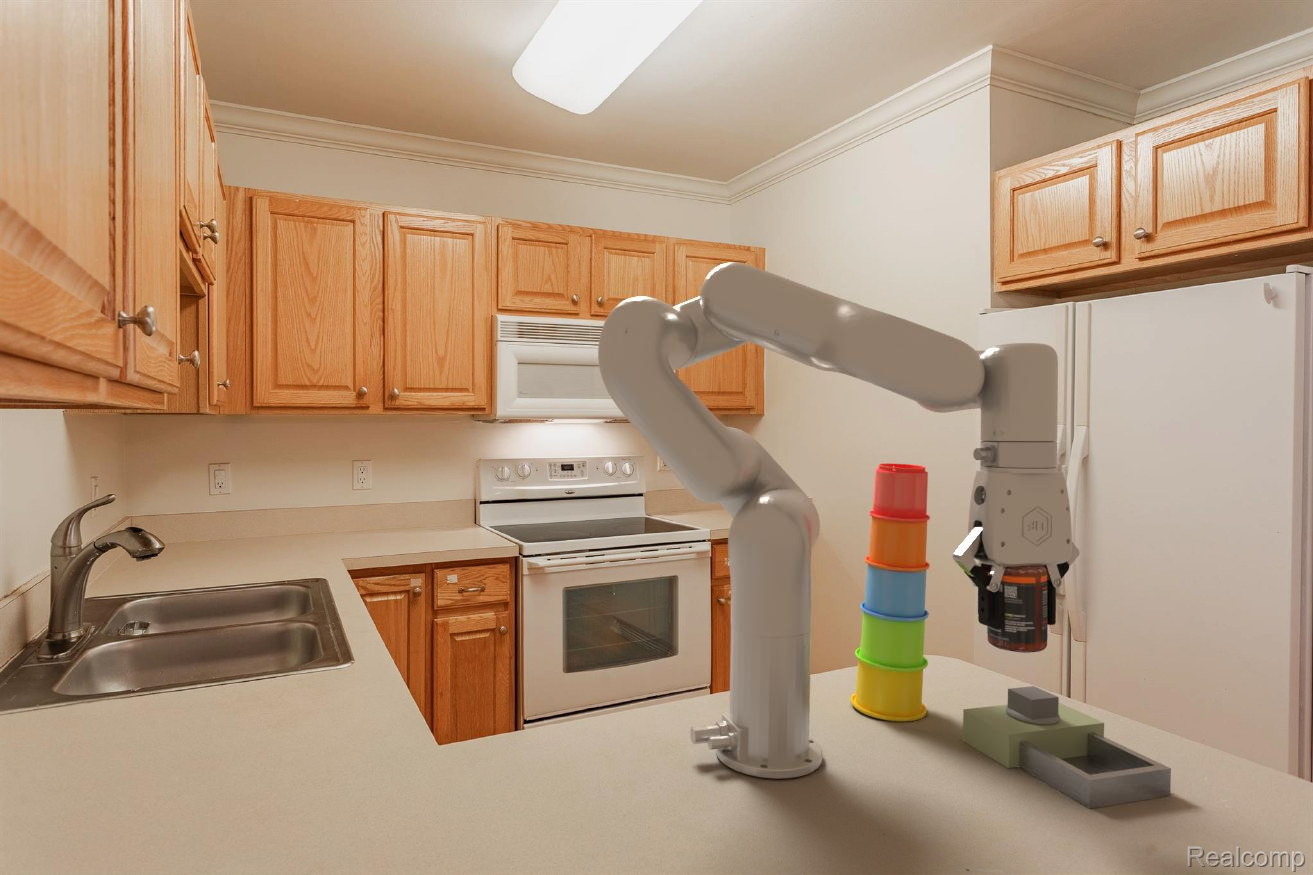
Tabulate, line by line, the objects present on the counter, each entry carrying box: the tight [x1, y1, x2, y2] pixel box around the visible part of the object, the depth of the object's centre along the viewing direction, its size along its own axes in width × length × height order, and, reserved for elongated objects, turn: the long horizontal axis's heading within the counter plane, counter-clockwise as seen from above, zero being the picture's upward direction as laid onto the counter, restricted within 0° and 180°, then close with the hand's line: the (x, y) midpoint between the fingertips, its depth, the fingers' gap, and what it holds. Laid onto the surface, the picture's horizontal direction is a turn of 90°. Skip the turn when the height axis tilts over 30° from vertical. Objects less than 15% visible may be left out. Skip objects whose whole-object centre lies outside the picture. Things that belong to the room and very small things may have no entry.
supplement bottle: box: [986, 565, 1049, 654], centre depth 82 cm, size 6×6×11 cm
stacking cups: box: [850, 462, 931, 723], centre depth 106 cm, size 10×10×35 cm
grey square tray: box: [1018, 732, 1172, 810], centre depth 85 cm, size 11×10×3 cm
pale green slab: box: [962, 685, 1105, 769], centre depth 94 cm, size 14×8×7 cm, turn 106°
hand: (1016, 622), depth 82 cm, fingers closed on supplement bottle, 6 cm apart
